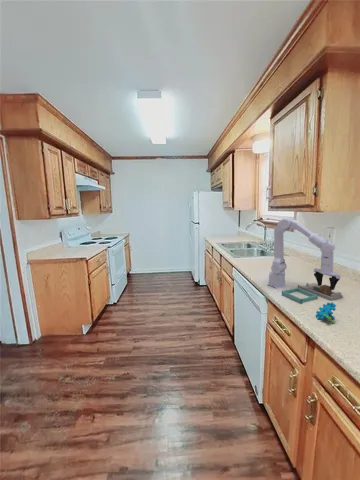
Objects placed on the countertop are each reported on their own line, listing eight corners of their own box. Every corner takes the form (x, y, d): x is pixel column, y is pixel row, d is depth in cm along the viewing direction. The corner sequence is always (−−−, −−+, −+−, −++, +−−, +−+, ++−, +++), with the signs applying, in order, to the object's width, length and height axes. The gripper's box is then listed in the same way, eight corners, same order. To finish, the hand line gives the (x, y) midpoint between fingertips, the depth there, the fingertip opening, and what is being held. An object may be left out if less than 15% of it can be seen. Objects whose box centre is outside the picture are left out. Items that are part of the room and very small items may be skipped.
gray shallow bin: (296, 288, 146) (296, 283, 145) (308, 286, 149) (308, 280, 148) (330, 302, 125) (330, 295, 124) (343, 298, 128) (344, 292, 127)
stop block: (319, 294, 134) (319, 285, 133) (324, 293, 135) (325, 284, 134) (326, 296, 130) (326, 288, 129) (331, 295, 132) (331, 286, 131)
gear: (313, 308, 114) (331, 297, 109) (323, 317, 114) (341, 307, 109) (315, 322, 105) (335, 310, 100) (325, 332, 104) (346, 321, 99)
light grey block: (307, 290, 141) (307, 284, 140) (314, 288, 142) (314, 282, 142) (313, 292, 137) (313, 286, 136) (320, 290, 139) (320, 284, 138)
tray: (281, 295, 136) (281, 291, 136) (297, 291, 140) (297, 287, 140) (301, 304, 124) (301, 299, 123) (317, 300, 128) (317, 295, 127)
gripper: (345, 265, 125) (343, 290, 127) (320, 260, 138) (319, 282, 140) (335, 267, 122) (334, 292, 124) (311, 261, 136) (310, 284, 138)
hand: (325, 287), depth 132 cm, fingers open, 7 cm apart
